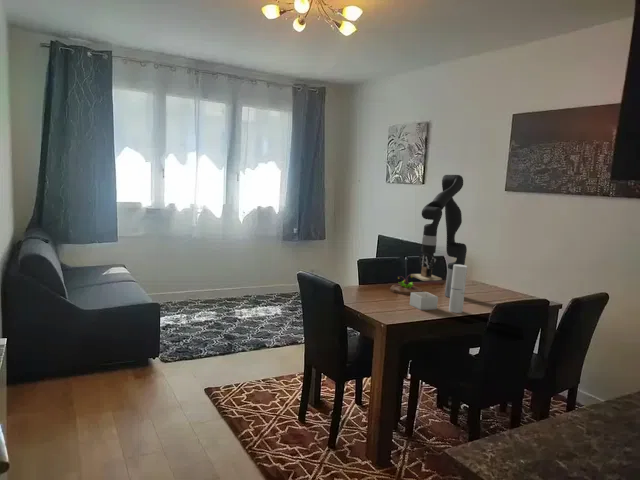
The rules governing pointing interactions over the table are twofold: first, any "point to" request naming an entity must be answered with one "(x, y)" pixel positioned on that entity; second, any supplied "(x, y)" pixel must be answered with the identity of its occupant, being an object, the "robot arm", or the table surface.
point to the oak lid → (425, 275)
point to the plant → (405, 287)
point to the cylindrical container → (457, 288)
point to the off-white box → (423, 300)
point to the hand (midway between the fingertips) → (426, 274)
